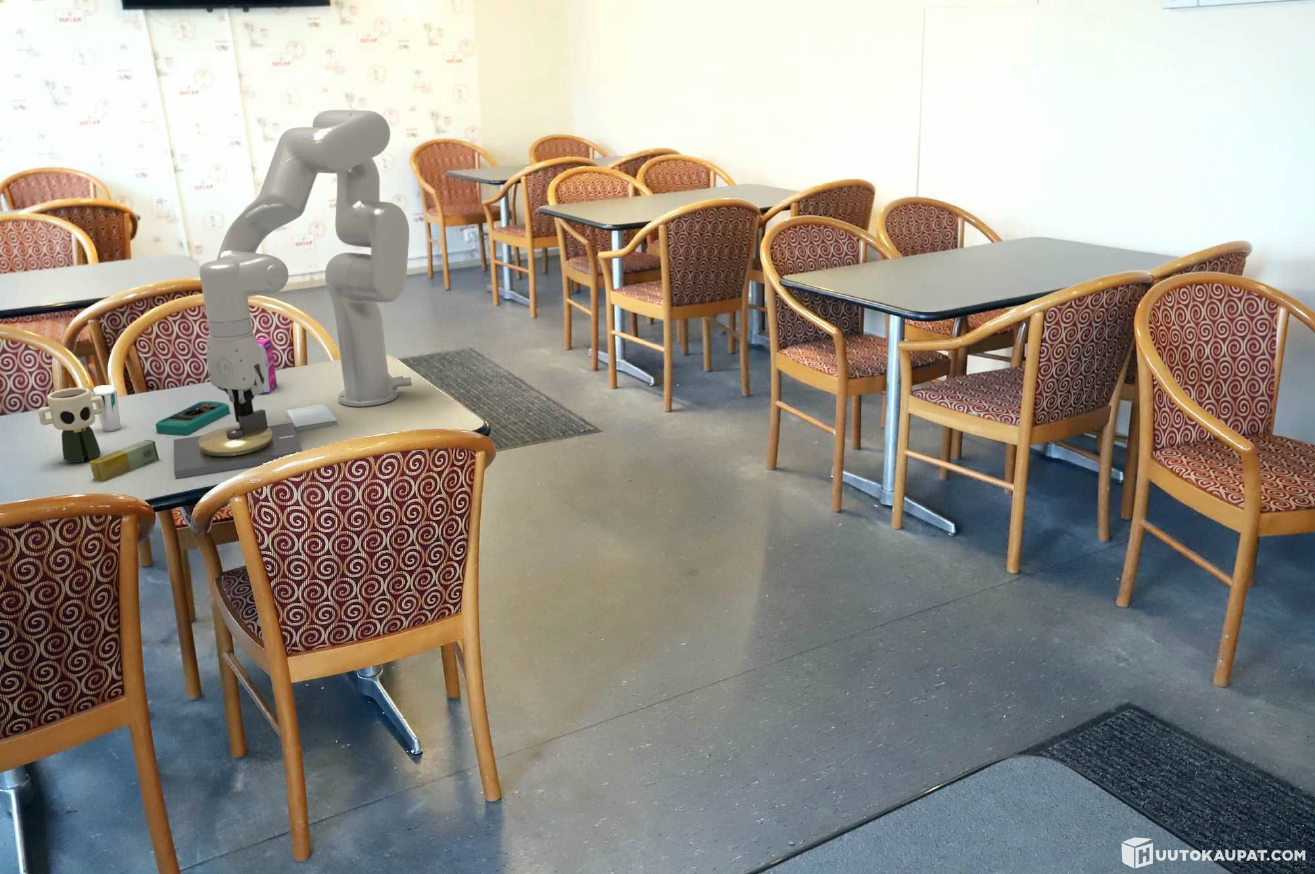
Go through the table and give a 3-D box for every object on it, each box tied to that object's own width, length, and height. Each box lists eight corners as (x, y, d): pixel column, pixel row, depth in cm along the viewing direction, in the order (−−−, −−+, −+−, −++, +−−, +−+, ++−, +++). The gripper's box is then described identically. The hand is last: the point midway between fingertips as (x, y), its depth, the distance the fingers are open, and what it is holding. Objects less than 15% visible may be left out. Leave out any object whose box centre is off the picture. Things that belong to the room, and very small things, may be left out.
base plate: (293, 429, 213) (292, 421, 212) (303, 458, 197) (302, 450, 197) (175, 446, 205) (173, 438, 204) (175, 478, 189) (173, 469, 189)
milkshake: (91, 433, 214) (80, 385, 210) (112, 424, 218) (102, 378, 215) (108, 435, 212) (98, 387, 209) (129, 426, 217) (119, 379, 213)
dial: (286, 440, 201) (282, 416, 200) (223, 461, 192) (219, 435, 190) (248, 427, 209) (244, 403, 207) (186, 446, 200) (181, 421, 198)
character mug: (55, 471, 194) (39, 403, 190) (46, 461, 199) (30, 395, 195) (119, 456, 201) (105, 390, 196) (108, 446, 206) (94, 382, 201)
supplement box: (269, 394, 236) (261, 344, 232) (243, 394, 236) (235, 345, 232) (278, 386, 241) (271, 337, 237) (252, 387, 241) (245, 338, 237)
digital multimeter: (233, 414, 224) (230, 401, 223) (187, 437, 211) (184, 423, 210) (203, 412, 226) (200, 399, 225) (155, 435, 213) (152, 421, 212)
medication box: (150, 458, 200) (146, 438, 198) (160, 460, 199) (156, 440, 197) (93, 481, 190) (87, 460, 189) (102, 483, 189) (97, 462, 187)
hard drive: (337, 420, 215) (325, 403, 225) (295, 426, 211) (285, 409, 222) (338, 427, 215) (326, 410, 226) (296, 434, 212) (286, 417, 222)
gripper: (185, 329, 197) (201, 422, 203) (246, 336, 191) (261, 431, 198) (215, 320, 204) (230, 410, 210) (276, 326, 198) (289, 419, 204)
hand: (245, 420), depth 204 cm, fingers closed
